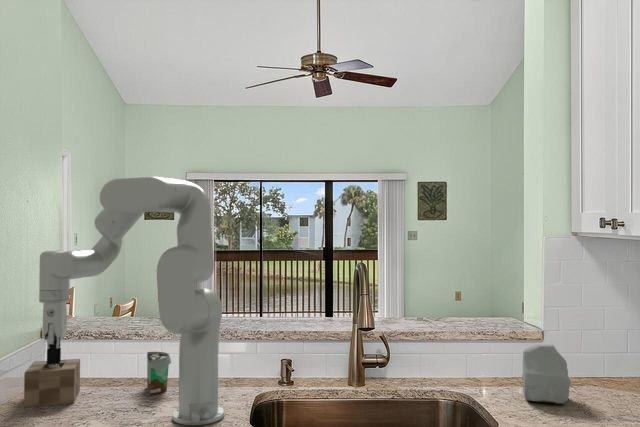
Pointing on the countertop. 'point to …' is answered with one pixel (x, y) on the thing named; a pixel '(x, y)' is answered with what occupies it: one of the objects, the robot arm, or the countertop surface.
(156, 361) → the food container
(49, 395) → the socket block
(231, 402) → the countertop surface
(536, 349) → the stone
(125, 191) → the robot arm
